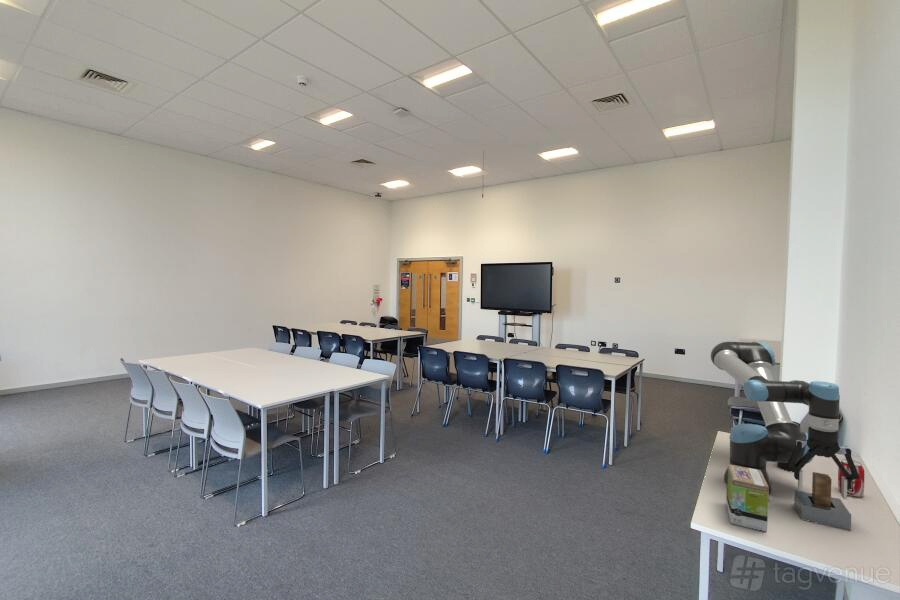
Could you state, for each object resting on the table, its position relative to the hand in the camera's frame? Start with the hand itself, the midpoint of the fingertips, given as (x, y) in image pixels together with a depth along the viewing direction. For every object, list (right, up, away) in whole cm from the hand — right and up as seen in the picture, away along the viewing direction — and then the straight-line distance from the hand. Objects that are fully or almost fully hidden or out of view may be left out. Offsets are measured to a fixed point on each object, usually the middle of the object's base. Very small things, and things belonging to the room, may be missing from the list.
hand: (821, 493), depth 138 cm
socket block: (0, -8, 0) cm, 8 cm away
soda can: (+26, -8, +16) cm, 31 cm away
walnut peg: (0, -7, 0) cm, 7 cm away
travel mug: (+20, -7, +38) cm, 44 cm away
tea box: (-26, -8, -1) cm, 27 cm away
